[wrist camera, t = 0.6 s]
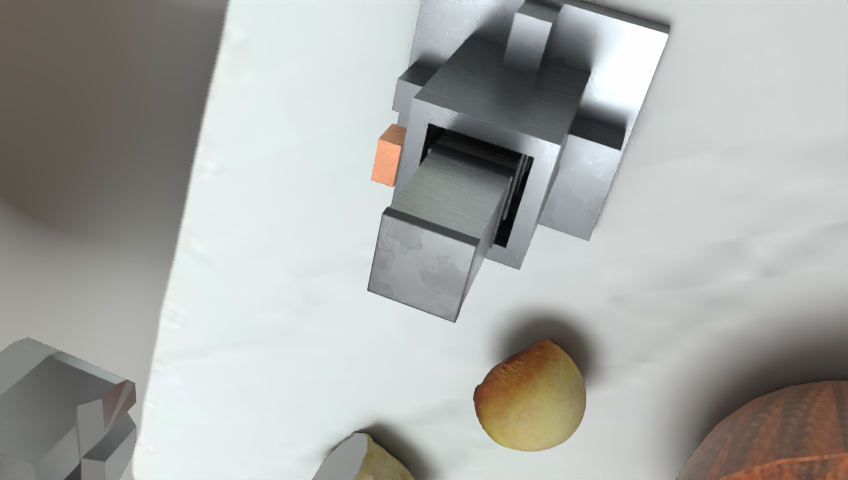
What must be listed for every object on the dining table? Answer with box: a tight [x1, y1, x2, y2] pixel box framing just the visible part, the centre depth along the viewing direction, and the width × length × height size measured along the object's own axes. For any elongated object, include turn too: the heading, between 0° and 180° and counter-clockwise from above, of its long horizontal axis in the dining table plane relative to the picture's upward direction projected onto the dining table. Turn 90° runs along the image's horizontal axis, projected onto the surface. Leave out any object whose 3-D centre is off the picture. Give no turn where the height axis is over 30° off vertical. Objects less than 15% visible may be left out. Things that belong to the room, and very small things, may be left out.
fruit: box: [473, 339, 586, 452], centre depth 56 cm, size 8×8×8 cm
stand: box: [371, 0, 670, 270], centre depth 44 cm, size 14×14×12 cm
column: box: [367, 129, 533, 323], centre depth 40 cm, size 4×4×18 cm
